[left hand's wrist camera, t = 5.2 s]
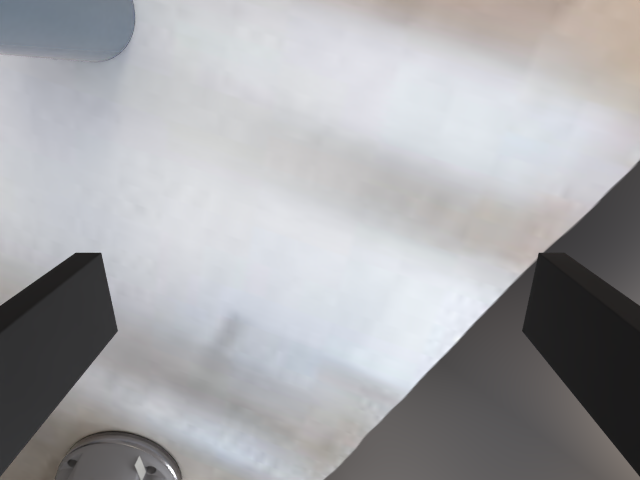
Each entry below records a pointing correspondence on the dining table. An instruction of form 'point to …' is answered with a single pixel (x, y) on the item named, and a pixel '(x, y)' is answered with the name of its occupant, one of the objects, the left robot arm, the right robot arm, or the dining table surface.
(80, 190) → the dining table surface
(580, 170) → the dining table surface
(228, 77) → the dining table surface
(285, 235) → the dining table surface
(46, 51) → the jar
